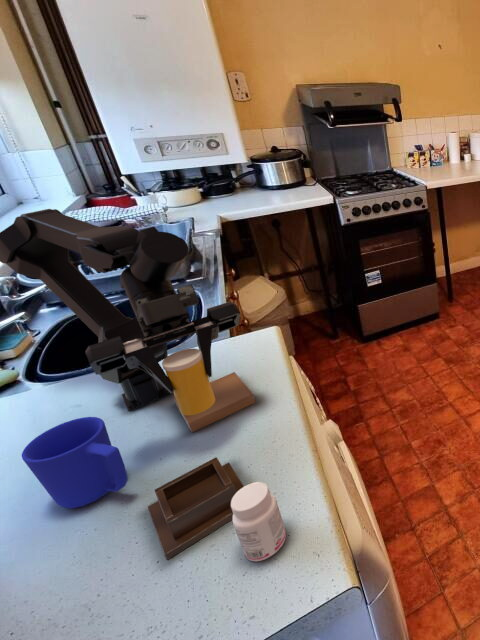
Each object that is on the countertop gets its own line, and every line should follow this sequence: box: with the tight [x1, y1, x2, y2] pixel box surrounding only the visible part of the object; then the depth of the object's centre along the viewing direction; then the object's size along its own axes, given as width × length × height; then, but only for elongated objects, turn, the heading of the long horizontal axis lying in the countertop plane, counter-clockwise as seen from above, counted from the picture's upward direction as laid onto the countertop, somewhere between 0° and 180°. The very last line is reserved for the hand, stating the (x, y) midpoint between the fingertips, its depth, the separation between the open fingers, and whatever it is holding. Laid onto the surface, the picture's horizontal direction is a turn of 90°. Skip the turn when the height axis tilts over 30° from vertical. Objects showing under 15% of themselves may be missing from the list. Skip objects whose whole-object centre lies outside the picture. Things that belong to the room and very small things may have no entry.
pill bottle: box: [231, 481, 287, 562], centre depth 54 cm, size 5×5×8 cm
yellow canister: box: [161, 348, 215, 415], centre depth 67 cm, size 5×5×9 cm
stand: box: [147, 456, 245, 561], centre depth 60 cm, size 10×10×4 cm
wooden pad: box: [173, 371, 256, 433], centre depth 80 cm, size 10×10×2 cm
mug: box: [21, 416, 128, 509], centre depth 61 cm, size 8×12×10 cm
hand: (191, 383), depth 66 cm, fingers closed on yellow canister, 4 cm apart
